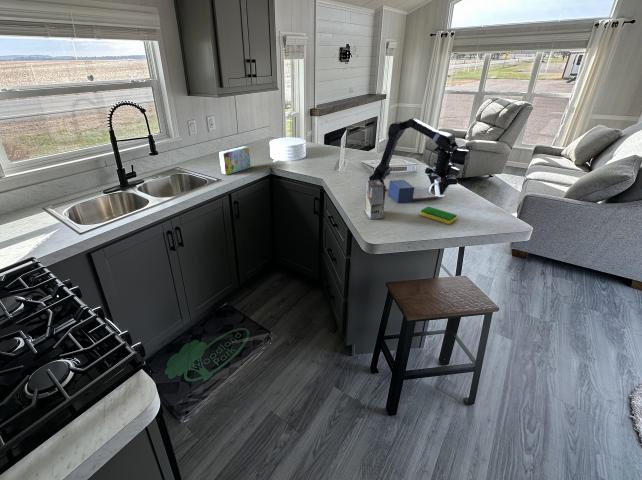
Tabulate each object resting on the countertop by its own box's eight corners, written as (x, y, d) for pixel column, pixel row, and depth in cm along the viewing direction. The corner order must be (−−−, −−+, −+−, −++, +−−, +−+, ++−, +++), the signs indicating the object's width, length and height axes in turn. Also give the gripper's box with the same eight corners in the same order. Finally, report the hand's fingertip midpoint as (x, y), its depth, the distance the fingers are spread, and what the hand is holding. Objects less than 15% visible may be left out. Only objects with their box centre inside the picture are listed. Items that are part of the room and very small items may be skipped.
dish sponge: (427, 210, 159) (428, 205, 158) (456, 219, 150) (457, 214, 149) (419, 215, 155) (420, 210, 154) (449, 224, 145) (450, 219, 144)
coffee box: (383, 218, 153) (386, 186, 146) (370, 219, 152) (372, 187, 146) (377, 210, 161) (379, 179, 154) (364, 211, 161) (366, 180, 154)
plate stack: (273, 151, 272) (273, 137, 267) (307, 151, 268) (307, 137, 263) (267, 160, 247) (266, 145, 242) (304, 160, 243) (303, 145, 238)
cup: (450, 197, 158) (453, 181, 155) (433, 200, 156) (436, 184, 153) (440, 192, 165) (443, 177, 161) (423, 194, 162) (426, 179, 159)
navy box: (398, 203, 168) (399, 188, 165) (387, 194, 180) (389, 180, 176) (443, 199, 170) (446, 185, 167) (430, 190, 182) (432, 177, 179)
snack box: (246, 166, 234) (244, 145, 228) (250, 167, 231) (249, 146, 225) (221, 173, 221) (218, 151, 215) (225, 175, 217) (223, 153, 211)
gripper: (471, 166, 146) (464, 198, 152) (447, 155, 163) (442, 184, 169) (448, 167, 144) (442, 200, 151) (426, 156, 161) (422, 185, 168)
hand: (437, 192), depth 160 cm, fingers closed on cup, 6 cm apart
